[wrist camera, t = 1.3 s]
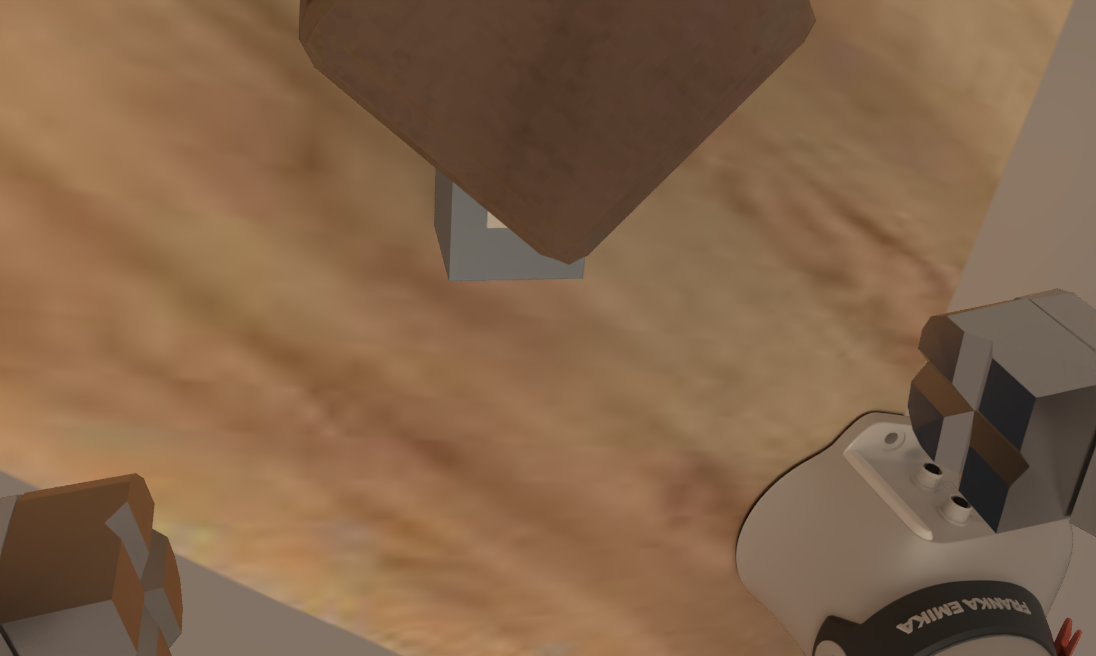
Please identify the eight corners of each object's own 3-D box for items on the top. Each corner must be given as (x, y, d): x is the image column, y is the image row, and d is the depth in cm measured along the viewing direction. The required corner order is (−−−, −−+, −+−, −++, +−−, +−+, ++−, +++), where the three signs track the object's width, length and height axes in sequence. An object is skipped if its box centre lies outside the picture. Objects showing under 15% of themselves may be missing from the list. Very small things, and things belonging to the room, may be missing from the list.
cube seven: (569, 105, 46) (603, 152, 41) (558, 223, 49) (588, 280, 44) (437, 103, 45) (454, 150, 39) (434, 224, 48) (449, 283, 42)
